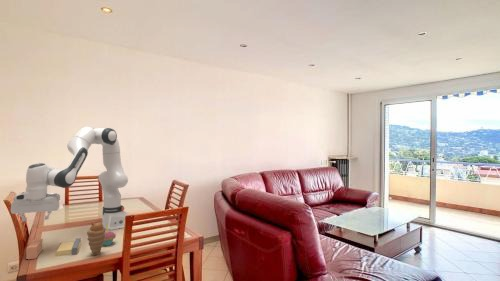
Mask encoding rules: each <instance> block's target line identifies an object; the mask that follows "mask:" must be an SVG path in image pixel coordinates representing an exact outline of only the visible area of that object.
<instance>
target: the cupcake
mask: <svg viewBox="0 0 500 281" xmlns="http://www.w3.org/2000/svg"><path fill="white" fill-rule="evenodd" d="M116 236H117V235H116V233H114V232H113V231H109V230H108V224H107V229H106V231H105V240H104V243H103V246H104V247H107V246H111V245H112V244H113V241H114V239H116Z"/></svg>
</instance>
